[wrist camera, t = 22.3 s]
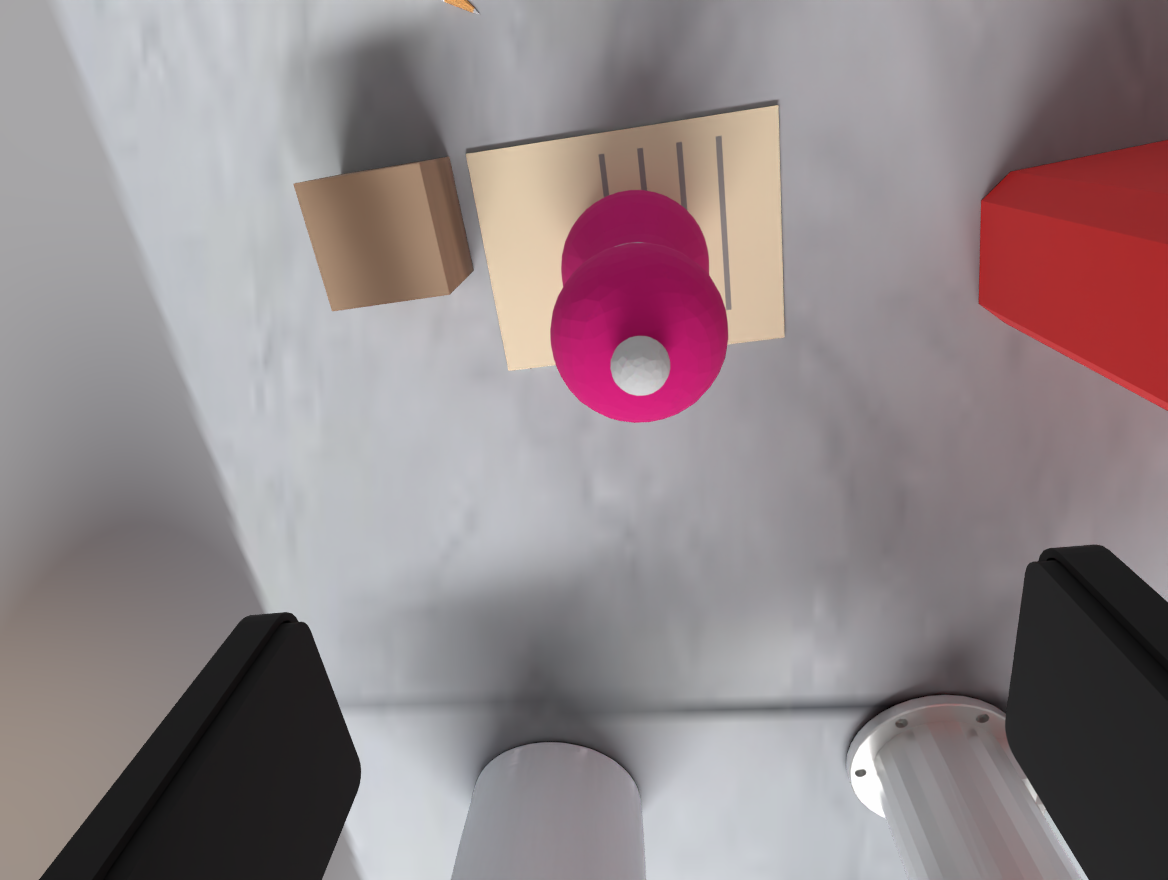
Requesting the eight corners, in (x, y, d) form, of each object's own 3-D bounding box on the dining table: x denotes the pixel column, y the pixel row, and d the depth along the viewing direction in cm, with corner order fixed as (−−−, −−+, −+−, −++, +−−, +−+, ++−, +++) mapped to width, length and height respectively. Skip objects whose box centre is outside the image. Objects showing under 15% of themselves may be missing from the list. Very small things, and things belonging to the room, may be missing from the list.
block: (449, 156, 37) (419, 162, 31) (474, 270, 39) (449, 294, 34) (341, 174, 37) (293, 183, 32) (372, 285, 40) (332, 311, 34)
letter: (777, 105, 35) (778, 105, 35) (783, 336, 40) (784, 337, 40) (466, 153, 37) (465, 153, 36) (509, 369, 41) (508, 370, 41)
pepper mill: (708, 304, 39) (781, 467, 21) (582, 328, 40) (546, 503, 22) (690, 169, 36) (755, 220, 18) (554, 198, 37) (486, 275, 19)
